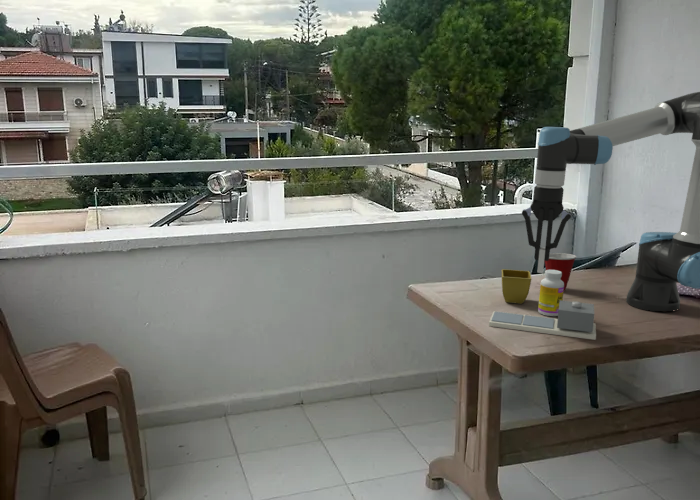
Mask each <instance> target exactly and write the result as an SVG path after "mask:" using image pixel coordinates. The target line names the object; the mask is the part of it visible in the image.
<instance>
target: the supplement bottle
mask: <svg viewBox="0 0 700 500" xmlns="http://www.w3.org/2000/svg"><path fill="white" fill-rule="evenodd" d="M544 276H545V277H544V278H543V279H541V281H540V284H539V285H540V286H539V295H538V306H537V307H538V308H537V312H538V313H539V314H540V315H542V316H547V317H558V312H559V302H560V300H561V301H564V300H563V299H564V292H565V291H564V282H563V281H562V280H560V278H561V276H562V272H561V271H558V270H546V269H545V271H544Z"/></svg>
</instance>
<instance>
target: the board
mask: <svg viewBox="0 0 700 500" xmlns="http://www.w3.org/2000/svg"><path fill="white" fill-rule="evenodd" d="M557 322H558V318H553V317H544V316H537V315H536V316H535V315H528V314H519V313H513V312H505V311H504V312H503V311H498V310H497V311H496V310H494V311H492V314H491V316H490V318H489V321H488V326H489V327H494V328H501V329H509V330H510V329H511V330H519V331H525V332H533V333H538V334H539V333H541V334H549V335H557V336H564V337H570V338H578V339H579V338H580V339H586V340H595V341H596V340H597V331H596V330H597V328H596V323H594V322H593V331H592V332H586V331H578V330H570V329H562V328H557Z"/></svg>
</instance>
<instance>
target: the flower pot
mask: <svg viewBox="0 0 700 500" xmlns="http://www.w3.org/2000/svg"><path fill="white" fill-rule="evenodd" d="M531 282H532V275H531V272H530V271H529V270H521V269H519V270H518V269H516V270H515V269H506V268H505V269H501V288H502V291H501V292H502V297H503V299H504V302H506V303H508V304H510V303H511V304H521V305H522V304H524V302H525V301H526V299H527V297H528V295H529V293H530V288H531V284H532V283H531Z"/></svg>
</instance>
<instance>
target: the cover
mask: <svg viewBox="0 0 700 500" xmlns="http://www.w3.org/2000/svg"><path fill="white" fill-rule="evenodd" d="M594 305H595V304H594V303H586V302H580V301H577V300H575V301H568V300H563V301H561V300H560V302H559V312H558V316H557V319H558V322H557V328H562V329H570V330H578V331H586V332H592V331H593V323H594V321H595V306H594Z"/></svg>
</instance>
